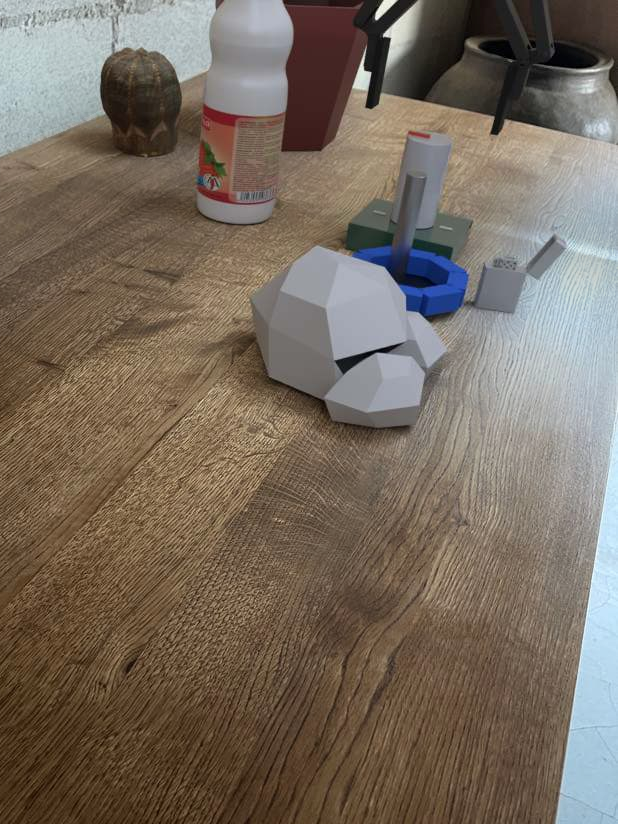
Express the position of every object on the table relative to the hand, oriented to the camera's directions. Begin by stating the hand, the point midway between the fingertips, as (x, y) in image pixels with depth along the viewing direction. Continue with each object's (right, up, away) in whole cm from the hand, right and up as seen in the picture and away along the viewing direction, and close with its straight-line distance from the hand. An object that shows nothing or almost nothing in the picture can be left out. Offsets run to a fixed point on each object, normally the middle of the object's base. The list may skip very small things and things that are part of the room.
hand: (432, 119), depth 98 cm
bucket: (-13, +16, +40) cm, 45 cm away
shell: (-34, +10, +30) cm, 46 cm away
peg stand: (-5, -19, -1) cm, 19 cm away
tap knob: (-1, -8, +7) cm, 11 cm away
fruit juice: (-21, -5, +13) cm, 25 cm away
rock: (-12, -31, -17) cm, 37 cm away
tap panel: (-1, -11, +9) cm, 14 cm away
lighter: (+7, -21, -2) cm, 22 cm away
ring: (-4, -19, -3) cm, 19 cm away
